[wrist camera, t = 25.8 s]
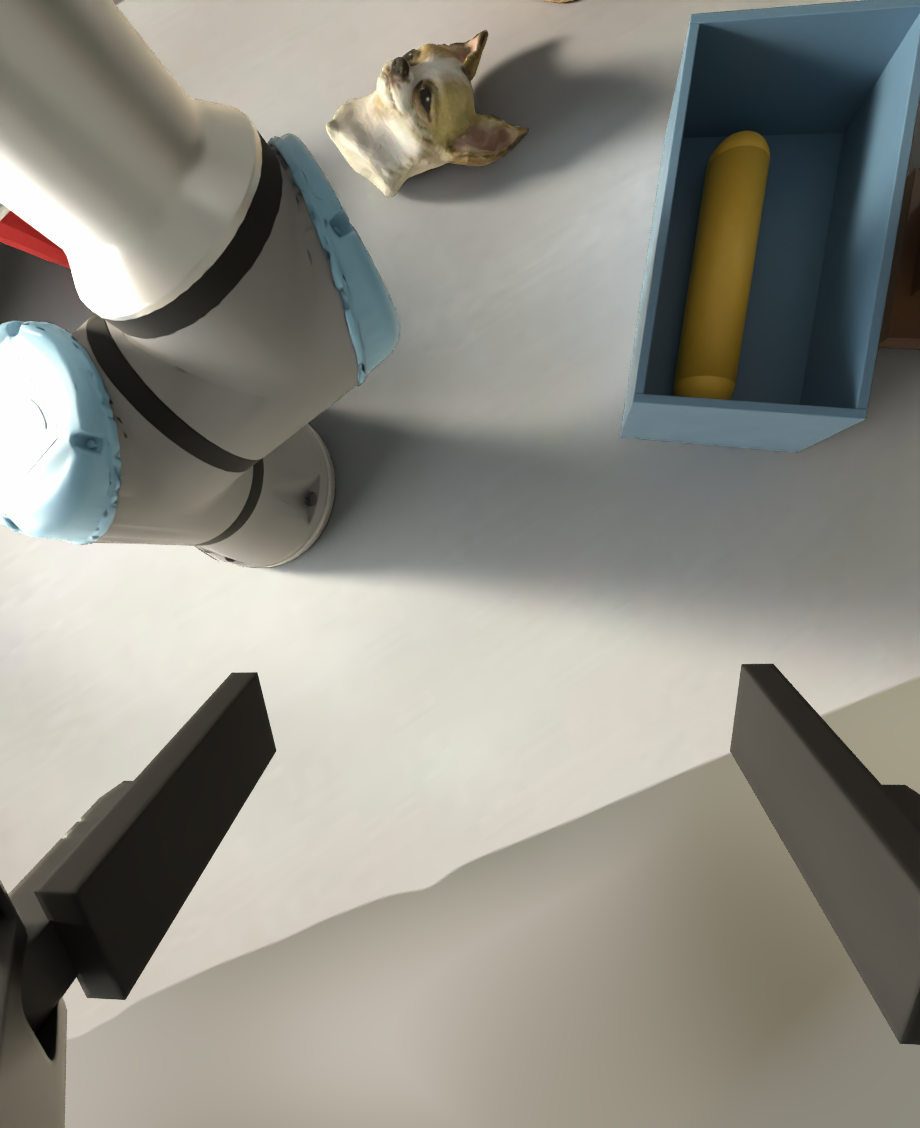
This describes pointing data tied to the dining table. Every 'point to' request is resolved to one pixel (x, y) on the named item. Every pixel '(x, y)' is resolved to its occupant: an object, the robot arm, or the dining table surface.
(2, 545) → the dining table surface
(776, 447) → the open box
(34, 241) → the plastic cup
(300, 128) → the dining table surface
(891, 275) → the display stand
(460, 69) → the ceramic sculpture
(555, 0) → the wooden mug
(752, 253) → the yellow capsule
